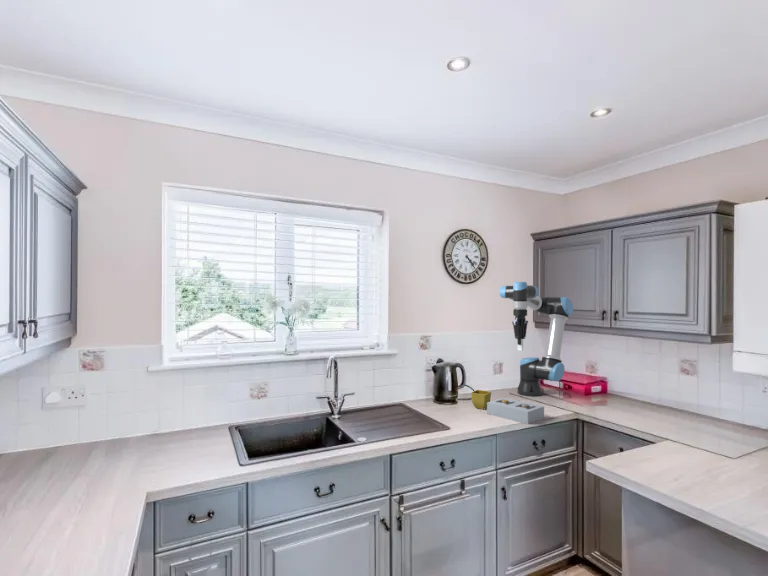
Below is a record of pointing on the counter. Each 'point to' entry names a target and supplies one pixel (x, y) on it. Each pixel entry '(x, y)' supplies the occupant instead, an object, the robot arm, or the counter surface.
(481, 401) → the flower pot
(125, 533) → the counter surface
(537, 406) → the socket block
